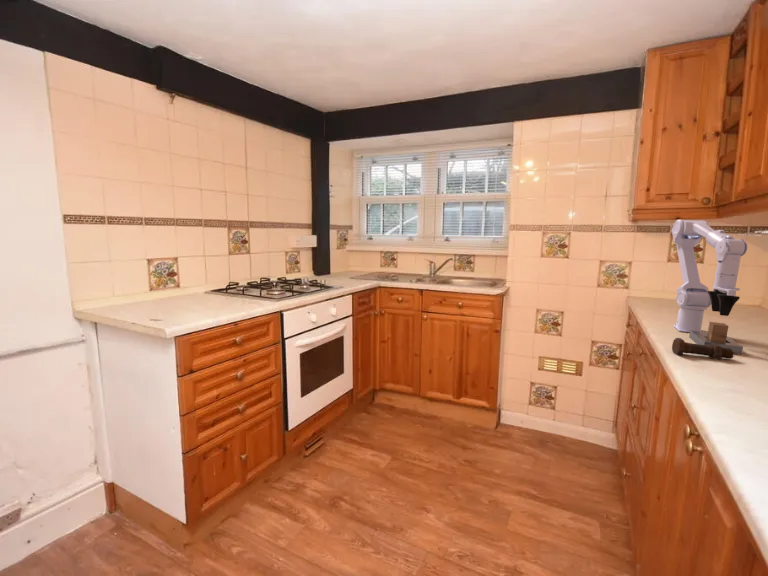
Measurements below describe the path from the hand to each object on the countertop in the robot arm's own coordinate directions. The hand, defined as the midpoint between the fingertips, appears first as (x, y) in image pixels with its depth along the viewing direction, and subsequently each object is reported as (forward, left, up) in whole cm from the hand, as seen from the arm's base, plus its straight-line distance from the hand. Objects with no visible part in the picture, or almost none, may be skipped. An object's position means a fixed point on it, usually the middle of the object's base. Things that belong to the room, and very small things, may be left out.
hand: (719, 313), depth 138 cm
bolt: (+22, -9, -11) cm, 26 cm away
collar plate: (+5, -2, -10) cm, 12 cm away
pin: (+7, -2, -10) cm, 12 cm away
